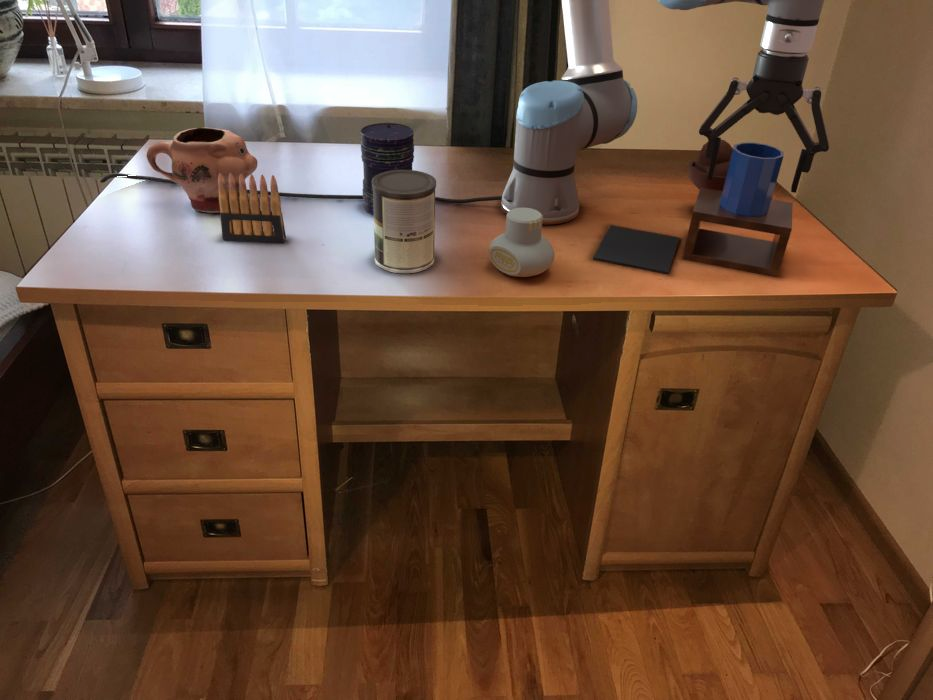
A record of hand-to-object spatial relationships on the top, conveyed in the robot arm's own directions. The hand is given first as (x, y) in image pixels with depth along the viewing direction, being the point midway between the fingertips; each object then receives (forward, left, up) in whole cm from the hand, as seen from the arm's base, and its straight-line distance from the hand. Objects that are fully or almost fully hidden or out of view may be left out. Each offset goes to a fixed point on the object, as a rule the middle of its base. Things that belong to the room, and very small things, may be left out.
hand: (751, 183), depth 129 cm
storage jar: (-64, -8, -14) cm, 66 cm away
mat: (-16, -5, -13) cm, 22 cm away
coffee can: (-52, -27, -14) cm, 60 cm away
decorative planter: (-95, -22, -14) cm, 99 cm away
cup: (0, 0, -4) cm, 4 cm away
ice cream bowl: (-6, +17, -14) cm, 23 cm away
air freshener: (-33, -22, -14) cm, 42 cm away
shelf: (0, 0, -13) cm, 13 cm away
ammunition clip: (-79, -31, -14) cm, 86 cm away
